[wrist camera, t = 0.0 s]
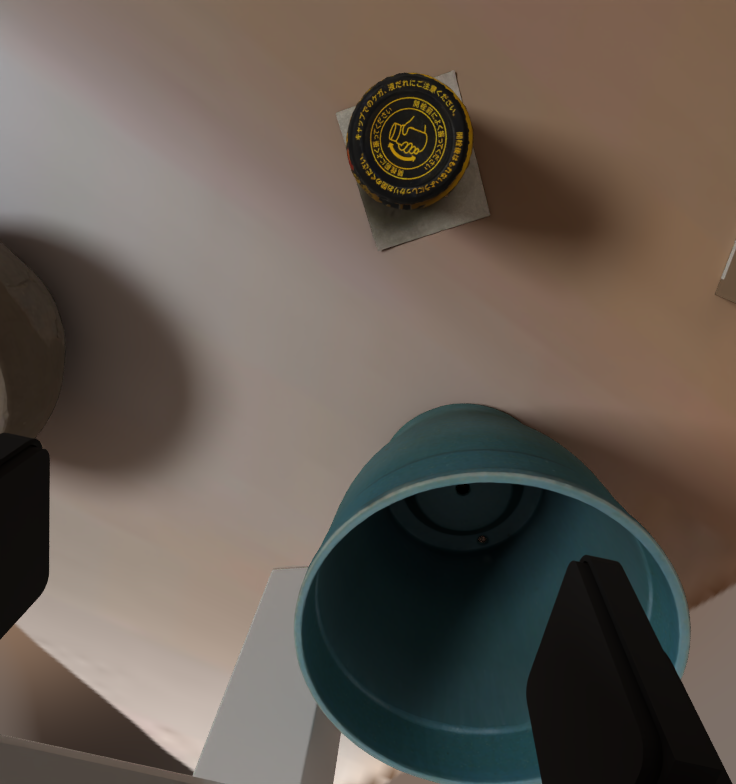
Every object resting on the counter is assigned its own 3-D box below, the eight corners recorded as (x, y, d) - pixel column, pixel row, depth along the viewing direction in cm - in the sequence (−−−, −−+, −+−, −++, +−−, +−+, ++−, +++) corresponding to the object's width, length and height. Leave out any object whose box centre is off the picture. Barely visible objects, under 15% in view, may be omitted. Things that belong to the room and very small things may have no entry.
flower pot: (609, 359, 41) (726, 480, 25) (582, 588, 47) (662, 804, 31) (336, 356, 42) (282, 468, 26) (344, 578, 48) (303, 778, 32)
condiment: (454, 70, 36) (466, 25, 25) (489, 215, 38) (516, 233, 27) (336, 113, 37) (296, 88, 26) (377, 250, 40) (358, 282, 29)
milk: (346, 563, 48) (289, 859, 27) (357, 627, 50) (311, 949, 29) (270, 568, 49) (157, 860, 28) (284, 631, 51) (188, 948, 30)
